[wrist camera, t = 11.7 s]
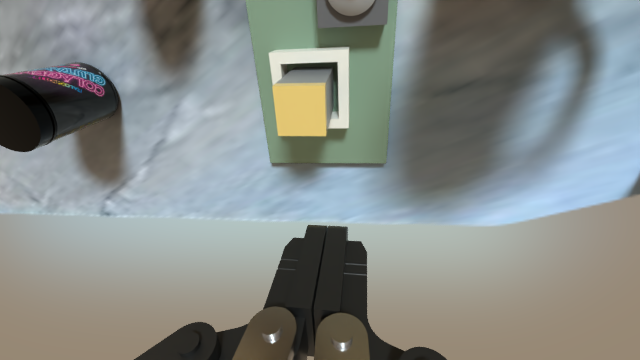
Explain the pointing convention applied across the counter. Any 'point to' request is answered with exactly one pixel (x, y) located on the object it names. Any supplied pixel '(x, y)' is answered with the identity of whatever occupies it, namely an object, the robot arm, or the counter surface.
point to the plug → (304, 101)
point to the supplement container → (52, 104)
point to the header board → (348, 71)
